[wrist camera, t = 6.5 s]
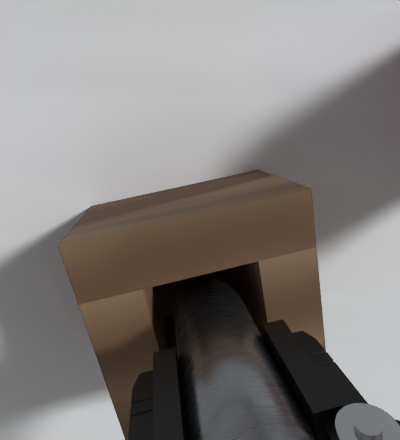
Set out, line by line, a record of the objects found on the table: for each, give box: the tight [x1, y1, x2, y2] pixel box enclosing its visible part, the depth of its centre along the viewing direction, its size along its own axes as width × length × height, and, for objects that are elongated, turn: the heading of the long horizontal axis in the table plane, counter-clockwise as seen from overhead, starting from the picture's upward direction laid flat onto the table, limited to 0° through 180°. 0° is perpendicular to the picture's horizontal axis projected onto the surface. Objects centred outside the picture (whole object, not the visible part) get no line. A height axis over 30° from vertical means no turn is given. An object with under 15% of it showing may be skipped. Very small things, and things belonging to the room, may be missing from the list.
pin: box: [172, 271, 317, 440], centre depth 9 cm, size 3×3×12 cm
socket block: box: [58, 170, 326, 440], centre depth 15 cm, size 9×9×6 cm
